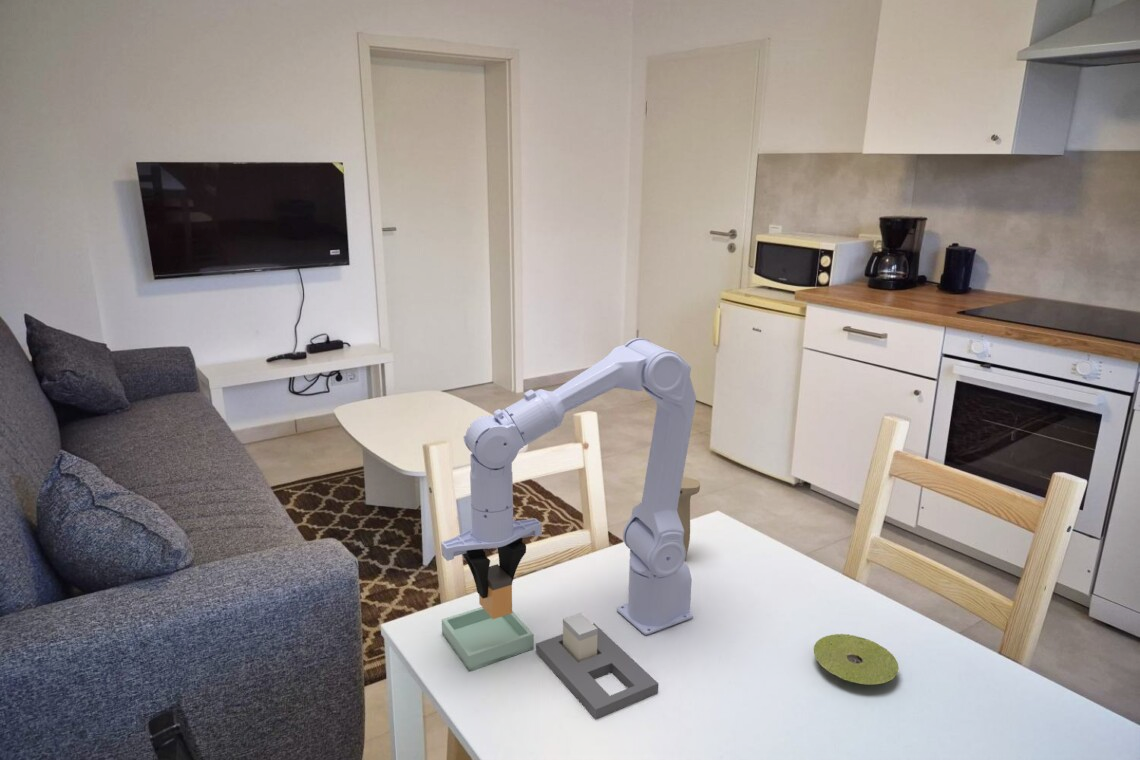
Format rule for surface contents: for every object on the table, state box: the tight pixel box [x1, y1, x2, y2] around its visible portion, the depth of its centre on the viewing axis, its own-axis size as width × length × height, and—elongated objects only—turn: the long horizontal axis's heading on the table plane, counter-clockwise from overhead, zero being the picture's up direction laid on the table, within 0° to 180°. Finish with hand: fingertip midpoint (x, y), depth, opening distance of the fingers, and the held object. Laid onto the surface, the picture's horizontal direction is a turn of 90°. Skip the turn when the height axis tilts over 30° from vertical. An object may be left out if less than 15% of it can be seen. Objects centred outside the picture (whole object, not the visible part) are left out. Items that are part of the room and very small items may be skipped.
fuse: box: [562, 612, 598, 662], centre depth 107 cm, size 3×4×6 cm, turn 31°
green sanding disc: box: [813, 633, 900, 685], centre depth 106 cm, size 11×11×2 cm
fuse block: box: [535, 622, 659, 720], centre depth 105 cm, size 10×16×2 cm, turn 31°
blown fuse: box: [478, 564, 513, 619], centre depth 106 cm, size 3×4×6 cm, turn 31°
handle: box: [677, 476, 701, 562], centre depth 133 cm, size 5×6×15 cm
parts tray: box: [441, 606, 535, 672], centre depth 111 cm, size 10×10×2 cm
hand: (494, 591), depth 106 cm, fingers closed on blown fuse, 3 cm apart
